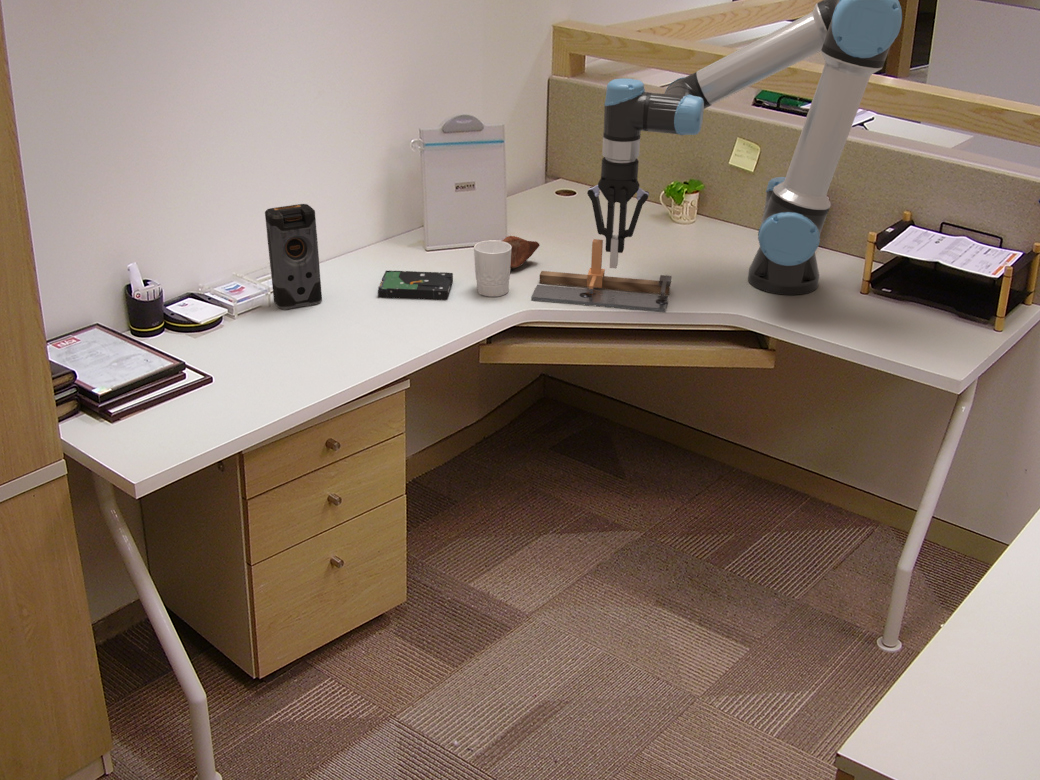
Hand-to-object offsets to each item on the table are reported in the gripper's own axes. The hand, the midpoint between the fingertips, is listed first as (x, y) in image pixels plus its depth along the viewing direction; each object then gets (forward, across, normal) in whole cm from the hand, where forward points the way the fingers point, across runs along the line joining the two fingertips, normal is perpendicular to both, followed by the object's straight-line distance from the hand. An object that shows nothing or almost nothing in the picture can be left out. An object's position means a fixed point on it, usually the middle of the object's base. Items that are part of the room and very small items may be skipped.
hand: (613, 265), depth 231 cm
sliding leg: (+4, +4, +3) cm, 6 cm away
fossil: (+5, +24, -7) cm, 25 cm away
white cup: (+5, +25, +8) cm, 26 cm away
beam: (+5, +2, +4) cm, 6 cm away
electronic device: (+5, +63, +23) cm, 67 cm away
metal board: (+5, +2, +8) cm, 9 cm away
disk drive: (+6, +41, +11) cm, 43 cm away
